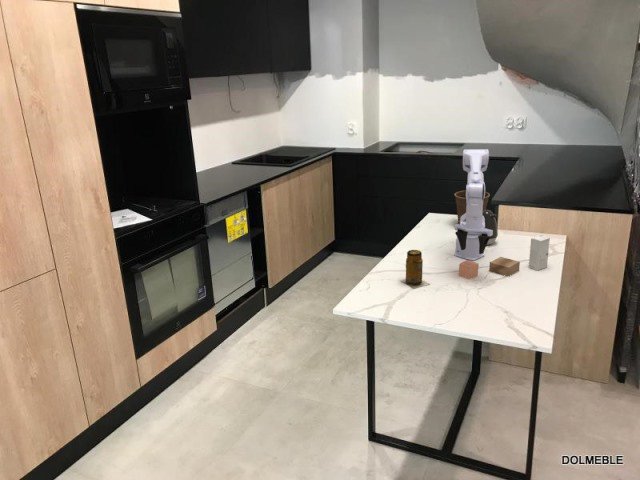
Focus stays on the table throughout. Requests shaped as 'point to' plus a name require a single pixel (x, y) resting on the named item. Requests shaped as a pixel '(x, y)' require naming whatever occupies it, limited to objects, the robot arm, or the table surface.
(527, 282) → the table surface
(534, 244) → the skincare box
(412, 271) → the condiment
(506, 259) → the walnut block
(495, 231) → the dark grey rounded figure
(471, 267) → the terracotta cube
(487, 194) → the plant pot
